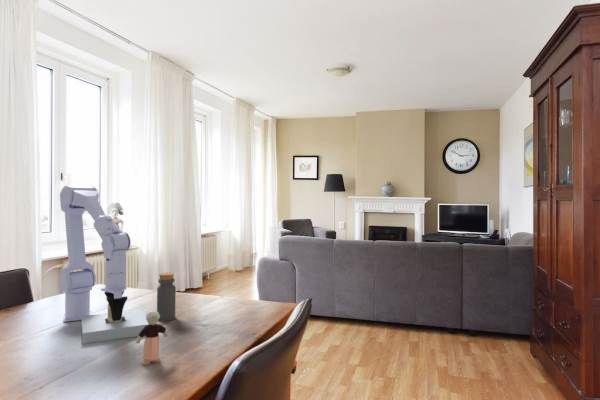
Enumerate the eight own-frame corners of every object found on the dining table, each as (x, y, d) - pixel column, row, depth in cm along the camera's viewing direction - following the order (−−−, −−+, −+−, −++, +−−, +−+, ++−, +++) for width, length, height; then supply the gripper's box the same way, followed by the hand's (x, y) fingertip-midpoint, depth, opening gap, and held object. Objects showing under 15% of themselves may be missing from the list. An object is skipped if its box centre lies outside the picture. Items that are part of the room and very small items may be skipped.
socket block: (81, 325, 128) (81, 316, 128) (142, 318, 136) (142, 309, 136) (82, 344, 112) (82, 333, 112) (151, 334, 121) (151, 323, 121)
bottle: (169, 321, 133) (170, 275, 133) (153, 320, 134) (153, 274, 134) (178, 316, 139) (178, 272, 139) (162, 315, 140) (163, 271, 140)
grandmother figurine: (141, 368, 97) (142, 315, 97) (133, 363, 99) (134, 312, 99) (170, 358, 103) (171, 308, 103) (162, 354, 105) (163, 305, 105)
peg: (107, 328, 125) (107, 302, 125) (121, 327, 127) (121, 301, 127) (107, 332, 121) (108, 306, 121) (122, 330, 123) (122, 304, 123)
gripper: (99, 269, 128) (99, 312, 129) (102, 277, 116) (102, 325, 116) (124, 268, 132) (123, 309, 132) (129, 275, 119) (129, 322, 119)
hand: (115, 316), depth 124 cm, fingers open, 7 cm apart
